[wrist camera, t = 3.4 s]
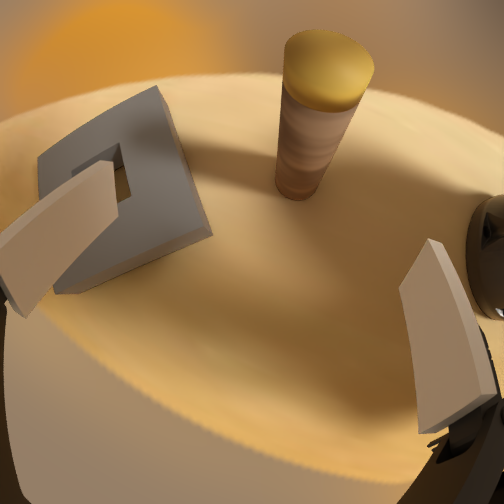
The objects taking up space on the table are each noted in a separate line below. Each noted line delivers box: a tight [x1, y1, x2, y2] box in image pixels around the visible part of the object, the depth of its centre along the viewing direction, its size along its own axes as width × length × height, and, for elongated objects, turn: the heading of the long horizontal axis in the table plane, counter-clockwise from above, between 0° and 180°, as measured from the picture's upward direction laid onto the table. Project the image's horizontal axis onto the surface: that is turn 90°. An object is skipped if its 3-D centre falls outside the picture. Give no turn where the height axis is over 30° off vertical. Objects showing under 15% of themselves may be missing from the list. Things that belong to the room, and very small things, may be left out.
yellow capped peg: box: [275, 30, 374, 200], centre depth 17 cm, size 4×4×16 cm
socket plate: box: [38, 85, 213, 294], centre depth 24 cm, size 16×16×4 cm
